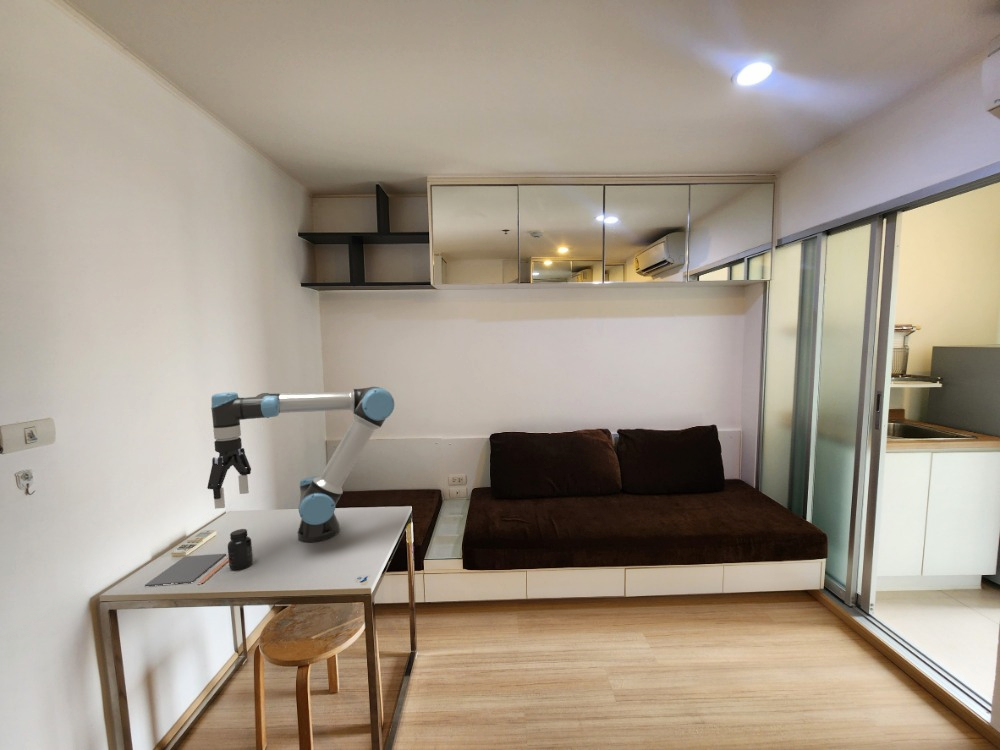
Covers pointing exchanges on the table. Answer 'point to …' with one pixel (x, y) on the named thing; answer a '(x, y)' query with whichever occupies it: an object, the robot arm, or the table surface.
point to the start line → (214, 570)
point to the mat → (186, 569)
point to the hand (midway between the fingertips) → (232, 500)
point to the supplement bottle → (240, 550)
